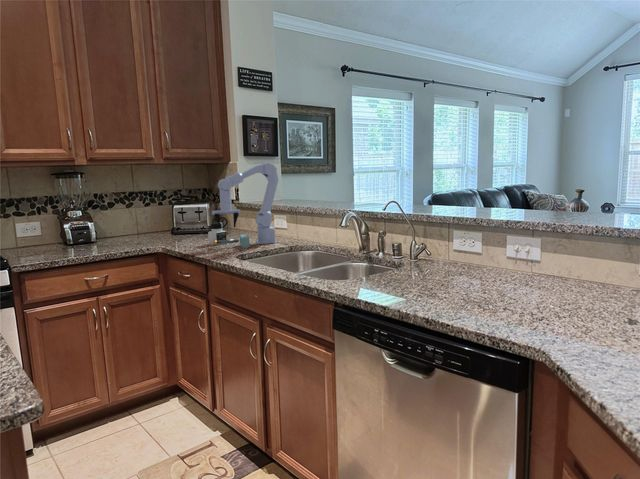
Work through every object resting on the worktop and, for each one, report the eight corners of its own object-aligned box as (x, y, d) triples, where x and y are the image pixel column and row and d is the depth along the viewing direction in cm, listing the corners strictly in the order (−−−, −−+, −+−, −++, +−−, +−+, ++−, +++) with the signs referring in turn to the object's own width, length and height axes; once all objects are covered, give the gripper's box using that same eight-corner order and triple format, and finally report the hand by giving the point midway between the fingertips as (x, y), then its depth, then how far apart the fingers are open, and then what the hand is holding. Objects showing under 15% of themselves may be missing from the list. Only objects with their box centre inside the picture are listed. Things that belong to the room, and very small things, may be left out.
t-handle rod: (238, 241, 252) (237, 236, 251) (239, 244, 243) (239, 239, 243) (212, 243, 248) (212, 238, 248) (213, 246, 240) (212, 241, 239)
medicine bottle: (217, 245, 254) (215, 223, 252) (208, 244, 258) (207, 223, 256) (227, 243, 259) (225, 222, 257) (218, 242, 263) (217, 221, 261)
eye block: (247, 244, 254) (246, 234, 253) (249, 247, 244) (249, 237, 243) (240, 244, 253) (239, 234, 252) (242, 248, 243) (241, 237, 242)
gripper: (238, 200, 250) (240, 225, 252) (211, 202, 246) (213, 227, 249) (240, 201, 243) (241, 227, 246) (211, 203, 240) (213, 229, 242)
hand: (227, 227), depth 247 cm, fingers open, 7 cm apart
